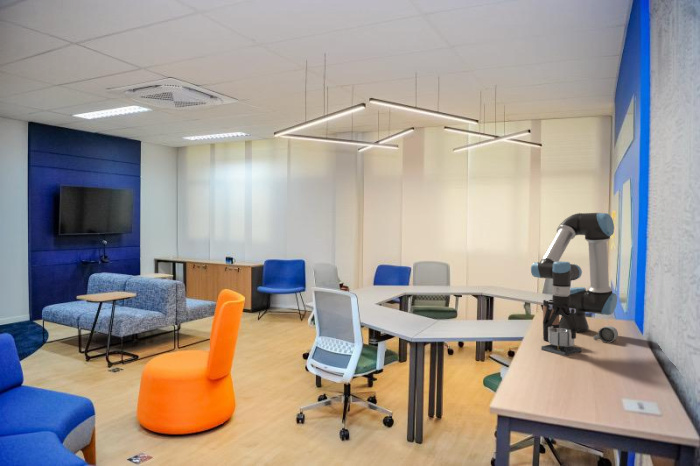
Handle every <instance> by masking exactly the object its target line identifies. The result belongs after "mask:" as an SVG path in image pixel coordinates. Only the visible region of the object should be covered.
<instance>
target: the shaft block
mask: <svg viewBox="0 0 700 466" xmlns="http://www.w3.org/2000/svg"><path fill="white" fill-rule="evenodd" d="M557 331H558V332H565V330H557ZM540 347H541V348H540V350H541V351H545V352H549V353H553V354H557V355H560V356H565V357H566V356H570V355H573V354H577V352H578V353H581V352H582V349H581V348H580V347H576V346H556V345H552V344H550V343H549V344H545V345H542V346H540Z"/></svg>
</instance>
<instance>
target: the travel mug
mask: <svg viewBox="0 0 700 466" xmlns="http://www.w3.org/2000/svg"><path fill="white" fill-rule="evenodd" d="M542 302H543V303H542V322H543V321H544V317H545V314H546V310H547V307H546V306H547V305H550V304H551V305H553V302H552V299H549V300H546V299H543V300H542ZM553 311H554V310H553V309H552V312H551V315H550V317H551V316H552V313H553ZM559 322H560V315H557V317H556V319H555V320H554V322H553V324H552V326H553V328H559ZM542 333H543V336H542V338H543V339H542V340H543V341H545V342H548V343H549V341H548V333H547V326H546V325H545V324H543V323H542Z"/></svg>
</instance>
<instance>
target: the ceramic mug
mask: <svg viewBox="0 0 700 466" xmlns="http://www.w3.org/2000/svg"><path fill="white" fill-rule="evenodd" d="M618 336H619V332H618V329H617V328H616V327H615V326H611V325H607V326H602V327H601V328H600V329H598V332H597V334H595V335H593V339H594V340H598V339H599V340H600V341H601V342H602V343H606V342H607V343H609V344H610V343H613V342H614V341H615V340H616V339H617V338H618ZM607 343H606V344H607Z"/></svg>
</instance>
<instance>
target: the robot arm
mask: <svg viewBox="0 0 700 466" xmlns="http://www.w3.org/2000/svg"><path fill="white" fill-rule="evenodd" d="M614 224H615V223H614V220H613V217H612V216H611V214H609V213H606V212H584V213H581V212H579V213H575V214H572V215H570V216H568V217H566V218H565V219H564V220H563V221H561V223H560V224H559V225H558V227H557V229H556V234H555V236H554V237H553V239H552V241H551V242H550V244H549V246H548V247H547V250H546V251H545V252H544V255H543V256H542V258H541V260H540V261H539V262H538V261H537V262H533V263H532V265H531V266H530V273H531V275H532V277H534V278H540V279H551V280H552V299H551V300H552V302H553V305H551V304H550V305H547V306H546V307H547V310H546V314H545V317H544V321H543V320H542V325H543V324H545V325H546V326H547V333H548V341H549V329H552V328H553V326H552V324H553V322H554V320H555V319H556V317H557V315H559V316H561V317H560V318H559V328H563V329H569V330H571V331H569V346H572V347H574V346H575V339H577V333H586V332H589V329H590V327H589V323H588V321H587V317H586V313H589V314H590V313H591V314H597V315H605V316H610V315H612V314H613V313H614V312H615V310H616V307H617V304H618V296H617V293H614V292H613V288H612V287H610V285H609V283H610V281H609V260H608V241H609V240H611V237H612V236H614V233H615V225H614ZM576 236H584V240H585V241H587V243H588V258H589V259H588V260H589V280H590V286H589V287H587V289H586V287H583V286H580V287H571V282H572V281H577V280H578V279H580V278H581V277H582V273H583V271H582V268H581V267H580V265H578V264H575V263H574V264H573V263H570V262H569V261H562V260H561V261H560V259H561V258H562V256H563V254H564V252H565V251H566V249H567V247H568V245H569V244H570V242H571V240H574V239H575V237H576ZM552 309H553V310H554V311H553V313H552V316H551V317H550V315H551V312H552ZM548 341H547V342H548Z"/></svg>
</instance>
